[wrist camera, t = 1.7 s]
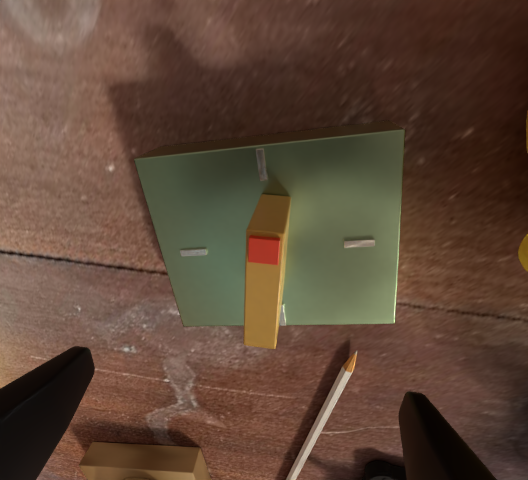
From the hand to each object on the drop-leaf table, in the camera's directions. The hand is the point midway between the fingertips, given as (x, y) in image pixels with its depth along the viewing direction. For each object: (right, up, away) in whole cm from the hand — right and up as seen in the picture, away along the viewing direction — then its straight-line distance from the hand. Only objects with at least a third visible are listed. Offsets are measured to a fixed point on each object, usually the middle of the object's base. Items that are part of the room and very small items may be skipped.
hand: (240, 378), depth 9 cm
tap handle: (+1, +4, +7) cm, 8 cm away
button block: (-10, -19, +23) cm, 32 cm away
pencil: (+5, -11, +17) cm, 21 cm away
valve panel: (+1, +5, +10) cm, 11 cm away
